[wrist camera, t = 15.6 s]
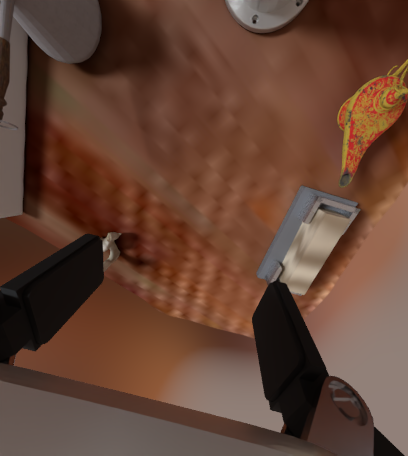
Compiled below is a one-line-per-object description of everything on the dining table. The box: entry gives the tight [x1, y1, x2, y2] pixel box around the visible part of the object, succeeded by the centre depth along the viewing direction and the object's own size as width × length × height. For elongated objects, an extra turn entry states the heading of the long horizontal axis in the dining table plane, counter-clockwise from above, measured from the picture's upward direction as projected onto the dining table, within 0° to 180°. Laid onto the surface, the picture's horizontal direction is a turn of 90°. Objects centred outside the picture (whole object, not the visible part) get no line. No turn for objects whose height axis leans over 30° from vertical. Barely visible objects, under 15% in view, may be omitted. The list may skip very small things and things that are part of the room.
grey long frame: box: [265, 193, 361, 296], centre depth 33 cm, size 20×7×3 cm, turn 164°
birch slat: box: [278, 207, 351, 295], centre depth 32 cm, size 16×4×5 cm, turn 167°
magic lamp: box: [337, 59, 408, 188], centre depth 23 cm, size 7×18×11 cm, turn 163°
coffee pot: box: [0, 0, 102, 130], centre depth 21 cm, size 21×12×15 cm, turn 174°
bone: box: [100, 232, 121, 271], centre depth 37 cm, size 9×6×10 cm
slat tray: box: [257, 185, 358, 280], centre depth 35 cm, size 21×10×2 cm, turn 164°
